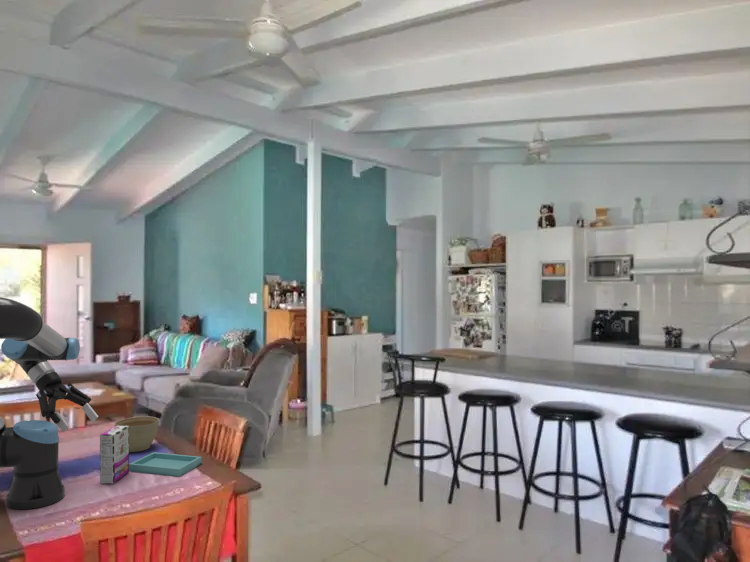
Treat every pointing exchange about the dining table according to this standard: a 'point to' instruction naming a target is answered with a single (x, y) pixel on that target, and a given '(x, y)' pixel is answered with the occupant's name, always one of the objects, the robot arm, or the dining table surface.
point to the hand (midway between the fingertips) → (81, 424)
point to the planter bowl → (140, 431)
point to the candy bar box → (114, 454)
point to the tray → (165, 464)
